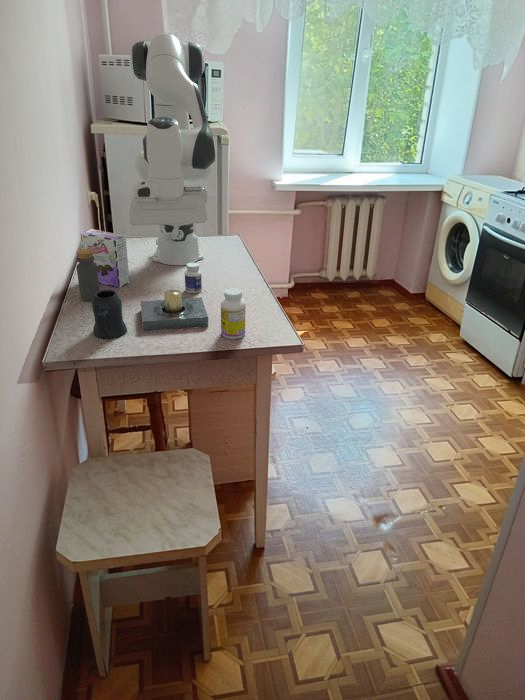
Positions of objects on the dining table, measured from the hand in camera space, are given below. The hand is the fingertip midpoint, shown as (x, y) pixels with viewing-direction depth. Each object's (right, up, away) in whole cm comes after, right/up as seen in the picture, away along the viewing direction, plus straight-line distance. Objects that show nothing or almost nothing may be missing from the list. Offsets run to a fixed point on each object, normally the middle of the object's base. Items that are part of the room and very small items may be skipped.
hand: (169, 239), depth 143 cm
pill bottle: (+3, -11, +30) cm, 32 cm away
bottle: (-28, -14, +22) cm, 39 cm away
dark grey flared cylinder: (-17, -26, +1) cm, 30 cm away
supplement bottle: (+17, -26, +3) cm, 31 cm away
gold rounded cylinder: (-1, -20, +11) cm, 23 cm away
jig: (-1, -20, +11) cm, 23 cm away
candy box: (-26, -7, +34) cm, 44 cm away
